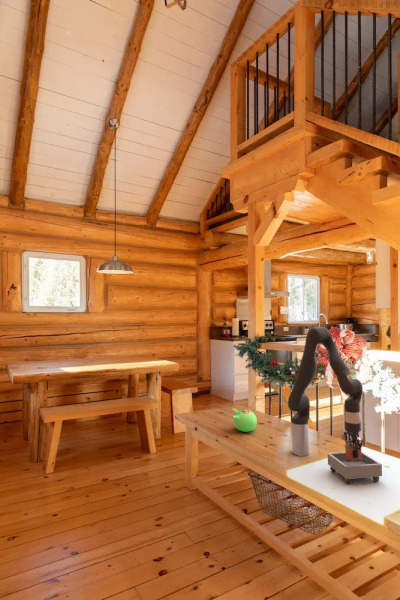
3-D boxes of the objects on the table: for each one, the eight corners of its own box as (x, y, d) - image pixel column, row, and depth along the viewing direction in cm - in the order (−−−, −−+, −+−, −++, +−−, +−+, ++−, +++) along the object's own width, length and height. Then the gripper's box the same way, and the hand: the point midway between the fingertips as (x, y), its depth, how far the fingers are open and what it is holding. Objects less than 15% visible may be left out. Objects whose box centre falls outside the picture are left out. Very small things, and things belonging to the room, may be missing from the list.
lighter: (360, 459, 192) (359, 438, 193) (363, 461, 189) (362, 440, 189) (344, 459, 192) (343, 439, 192) (346, 462, 189) (346, 441, 189)
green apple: (258, 434, 256) (258, 412, 256) (232, 435, 256) (232, 412, 257) (255, 426, 274) (255, 405, 274) (231, 427, 274) (231, 406, 275)
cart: (327, 470, 198) (327, 453, 198) (360, 467, 200) (360, 450, 201) (346, 485, 180) (346, 466, 180) (382, 482, 183) (381, 464, 183)
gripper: (338, 417, 197) (339, 451, 197) (353, 425, 183) (354, 462, 183) (351, 416, 199) (352, 450, 198) (367, 424, 185) (368, 461, 184)
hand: (353, 456), depth 190 cm, fingers closed on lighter, 3 cm apart
